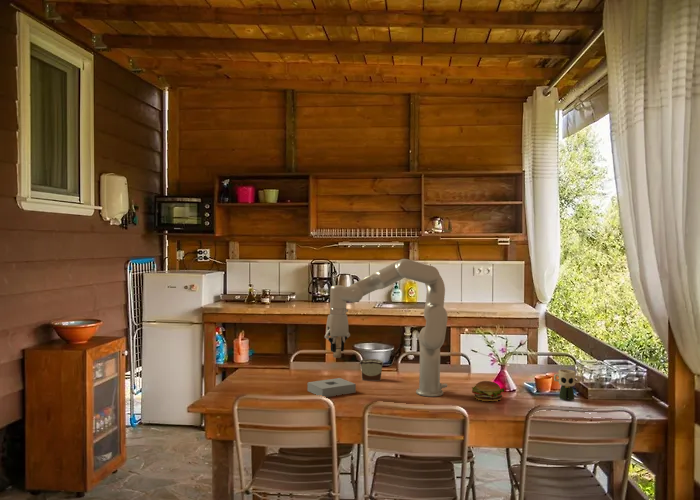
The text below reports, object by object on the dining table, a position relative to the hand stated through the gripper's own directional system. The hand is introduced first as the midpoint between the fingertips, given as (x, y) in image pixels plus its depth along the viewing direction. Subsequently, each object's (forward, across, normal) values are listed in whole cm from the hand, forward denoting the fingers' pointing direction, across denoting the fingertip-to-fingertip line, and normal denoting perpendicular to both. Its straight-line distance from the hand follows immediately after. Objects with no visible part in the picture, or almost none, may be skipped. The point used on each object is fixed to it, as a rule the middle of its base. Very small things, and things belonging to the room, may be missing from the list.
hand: (337, 350), depth 256 cm
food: (+19, -53, +44) cm, 72 cm away
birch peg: (+3, 0, 0) cm, 3 cm away
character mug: (+19, -83, +64) cm, 107 cm away
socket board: (+20, 0, -4) cm, 20 cm away
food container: (+20, -31, -14) cm, 39 cm away
